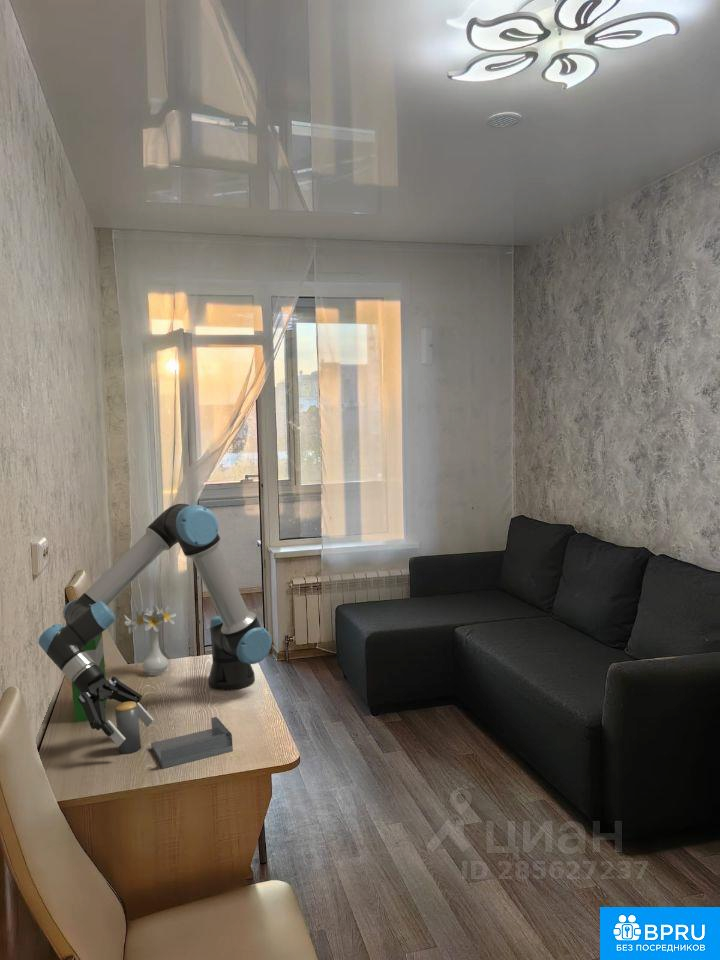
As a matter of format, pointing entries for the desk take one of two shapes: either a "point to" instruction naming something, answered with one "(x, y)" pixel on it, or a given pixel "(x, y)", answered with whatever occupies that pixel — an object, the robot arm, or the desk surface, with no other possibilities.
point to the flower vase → (153, 637)
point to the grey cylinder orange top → (128, 726)
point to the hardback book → (97, 656)
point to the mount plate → (194, 745)
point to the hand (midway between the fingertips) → (136, 732)
